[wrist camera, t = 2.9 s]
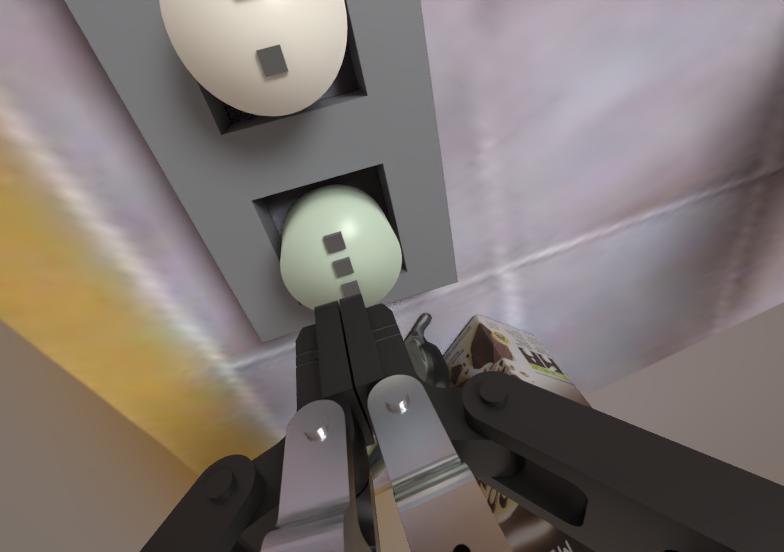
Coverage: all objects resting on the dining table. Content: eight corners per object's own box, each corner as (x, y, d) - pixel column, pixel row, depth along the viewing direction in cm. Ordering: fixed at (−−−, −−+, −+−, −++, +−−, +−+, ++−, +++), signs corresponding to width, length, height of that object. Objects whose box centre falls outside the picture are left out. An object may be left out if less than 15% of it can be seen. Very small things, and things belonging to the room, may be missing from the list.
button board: (-290, -719, 7) (-545, -1053, 5) (282, -775, 8) (276, -1084, 6) (265, 314, 21) (262, 342, 19) (442, 260, 22) (457, 281, 20)
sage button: (265, 202, 16) (258, 232, 13) (374, 171, 16) (389, 195, 14) (304, 291, 19) (305, 330, 16) (396, 263, 19) (412, 297, 16)
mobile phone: (357, 511, 27) (480, 375, 21) (319, 509, 25) (439, 363, 20) (349, 448, 31) (450, 319, 25) (316, 444, 29) (415, 306, 24)
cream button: (154, -51, 11) (111, -81, 9) (311, -87, 12) (316, -127, 9) (228, 119, 14) (213, 135, 11) (353, 86, 14) (366, 94, 12)
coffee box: (472, 311, 25) (677, 615, 12) (536, 335, 28) (761, 603, 14) (405, 399, 28) (504, 715, 15) (468, 413, 31) (598, 690, 18)
